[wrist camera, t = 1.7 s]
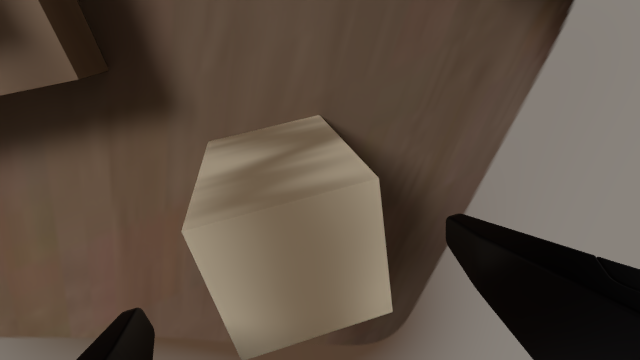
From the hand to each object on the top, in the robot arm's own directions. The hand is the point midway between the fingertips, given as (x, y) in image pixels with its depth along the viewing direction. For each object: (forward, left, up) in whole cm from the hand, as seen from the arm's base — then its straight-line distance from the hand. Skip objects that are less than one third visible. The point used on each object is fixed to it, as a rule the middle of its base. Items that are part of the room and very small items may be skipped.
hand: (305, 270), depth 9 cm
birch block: (0, 0, -7) cm, 7 cm away
